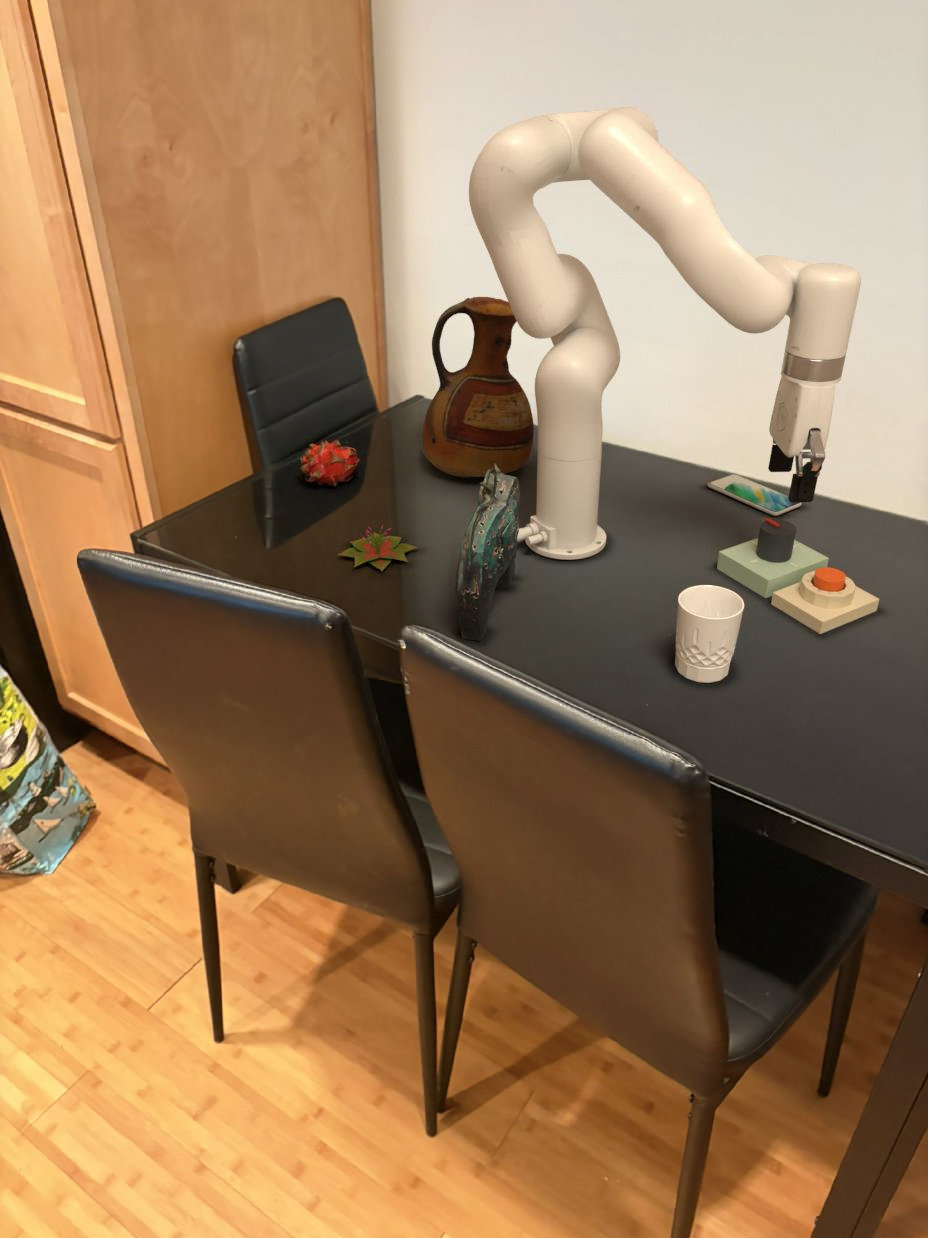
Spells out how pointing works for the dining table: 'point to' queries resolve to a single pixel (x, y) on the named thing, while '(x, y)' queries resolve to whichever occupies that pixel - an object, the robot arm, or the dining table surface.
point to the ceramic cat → (487, 552)
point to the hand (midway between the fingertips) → (789, 485)
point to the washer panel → (768, 567)
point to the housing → (824, 604)
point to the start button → (829, 579)
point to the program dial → (776, 540)
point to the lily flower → (378, 550)
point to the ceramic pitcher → (479, 399)
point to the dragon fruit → (329, 463)
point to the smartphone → (754, 494)
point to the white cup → (707, 632)
